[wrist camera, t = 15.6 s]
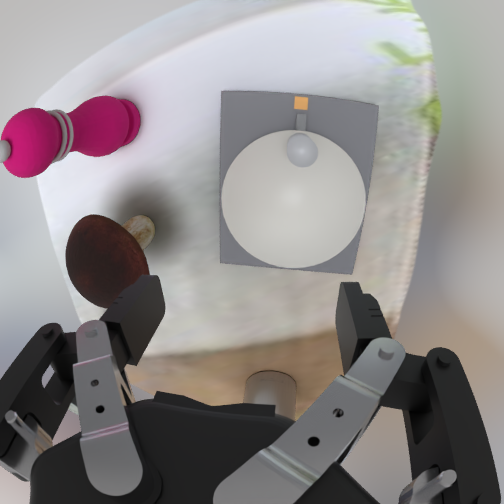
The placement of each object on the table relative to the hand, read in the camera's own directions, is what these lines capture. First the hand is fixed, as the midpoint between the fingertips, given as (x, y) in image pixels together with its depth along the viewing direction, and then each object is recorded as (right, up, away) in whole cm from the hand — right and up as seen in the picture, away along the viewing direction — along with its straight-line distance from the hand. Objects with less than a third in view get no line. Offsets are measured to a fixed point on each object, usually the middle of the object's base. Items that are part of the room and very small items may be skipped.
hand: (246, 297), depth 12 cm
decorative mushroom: (-14, +6, +25) cm, 29 cm away
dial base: (+5, +10, +20) cm, 23 cm away
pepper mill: (-16, +18, +19) cm, 31 cm away
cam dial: (+5, +8, +19) cm, 22 cm away
